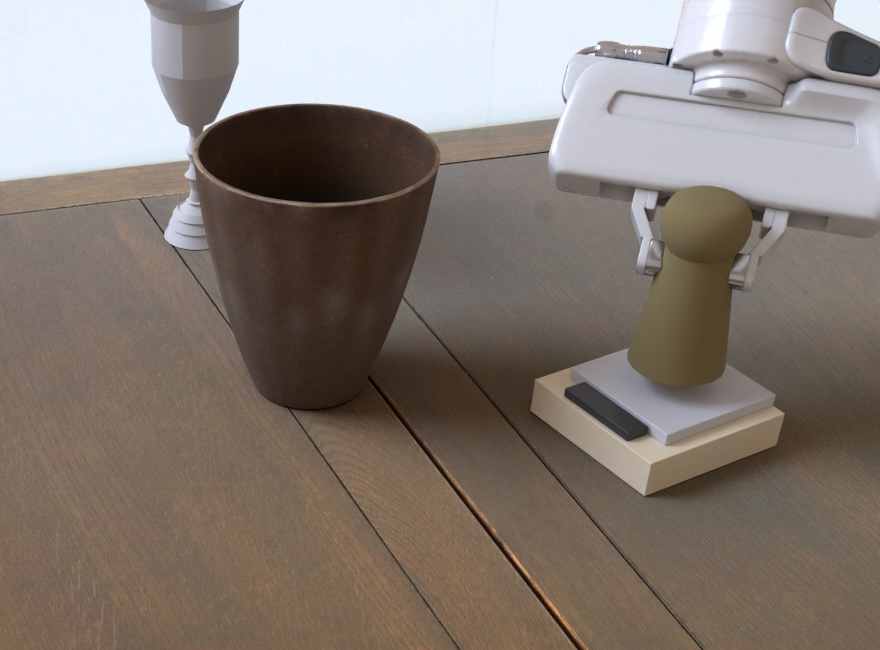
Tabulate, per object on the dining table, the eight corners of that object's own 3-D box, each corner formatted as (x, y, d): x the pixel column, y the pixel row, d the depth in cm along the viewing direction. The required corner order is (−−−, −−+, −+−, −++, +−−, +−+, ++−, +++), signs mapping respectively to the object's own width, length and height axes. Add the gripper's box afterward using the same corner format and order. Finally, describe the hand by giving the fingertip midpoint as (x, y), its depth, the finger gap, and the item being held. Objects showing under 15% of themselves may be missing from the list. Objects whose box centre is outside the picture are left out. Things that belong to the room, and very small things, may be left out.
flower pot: (158, 353, 107) (151, 126, 97) (347, 305, 113) (359, 85, 102) (260, 465, 97) (265, 225, 87) (462, 406, 103) (489, 173, 92)
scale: (657, 366, 107) (666, 324, 104) (776, 445, 99) (788, 402, 97) (529, 411, 102) (536, 368, 100) (644, 496, 95) (653, 452, 93)
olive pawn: (720, 394, 95) (761, 225, 88) (620, 376, 97) (652, 209, 89) (730, 345, 100) (770, 181, 92) (634, 329, 101) (666, 166, 94)
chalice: (226, 208, 124) (226, -27, 112) (257, 246, 119) (261, 4, 108) (138, 223, 122) (129, -15, 110) (166, 261, 117) (160, 17, 106)
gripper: (572, 12, 94) (519, 234, 93) (932, 57, 89) (878, 292, 88) (574, 60, 100) (524, 268, 99) (911, 105, 95) (860, 325, 94)
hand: (693, 280), depth 94 cm, fingers closed on olive pawn, 4 cm apart
